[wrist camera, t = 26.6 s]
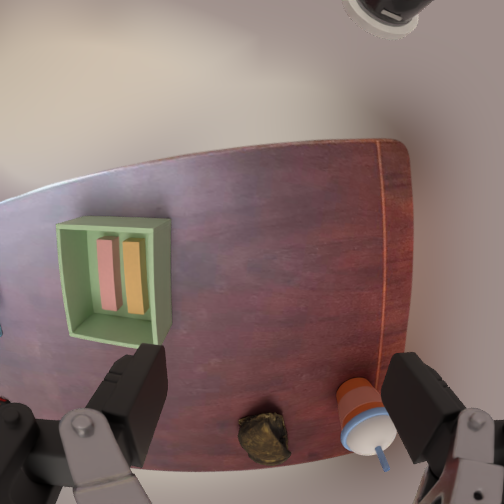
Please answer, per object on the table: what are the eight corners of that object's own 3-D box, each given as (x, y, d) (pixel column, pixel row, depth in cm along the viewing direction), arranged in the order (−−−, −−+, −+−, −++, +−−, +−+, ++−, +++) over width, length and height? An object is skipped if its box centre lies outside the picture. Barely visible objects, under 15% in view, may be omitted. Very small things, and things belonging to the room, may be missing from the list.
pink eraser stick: (104, 235, 38) (96, 239, 36) (119, 236, 38) (111, 240, 36) (108, 302, 41) (102, 309, 38) (123, 304, 41) (116, 311, 38)
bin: (85, 215, 38) (55, 224, 31) (171, 218, 38) (153, 228, 31) (92, 313, 42) (69, 336, 34) (172, 324, 42) (158, 351, 35)
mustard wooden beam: (129, 237, 38) (122, 241, 36) (145, 238, 38) (139, 241, 36) (133, 306, 41) (128, 313, 38) (149, 307, 41) (144, 315, 39)
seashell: (299, 453, 49) (295, 481, 42) (255, 452, 51) (247, 479, 45) (286, 398, 45) (279, 429, 38) (234, 399, 47) (222, 428, 41)
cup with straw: (385, 369, 44) (430, 443, 27) (367, 409, 47) (400, 482, 29) (336, 368, 44) (369, 452, 27) (321, 409, 46) (343, 491, 29)
